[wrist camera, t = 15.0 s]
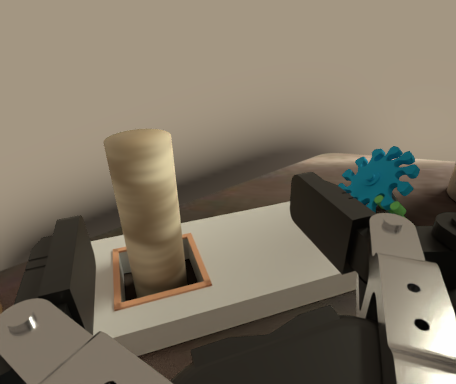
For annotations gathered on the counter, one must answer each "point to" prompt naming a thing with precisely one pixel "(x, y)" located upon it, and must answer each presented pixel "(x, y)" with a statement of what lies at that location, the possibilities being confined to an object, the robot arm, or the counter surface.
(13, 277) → the counter surface
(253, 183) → the counter surface
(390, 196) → the gear
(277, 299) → the white peg hole board
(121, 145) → the peg
